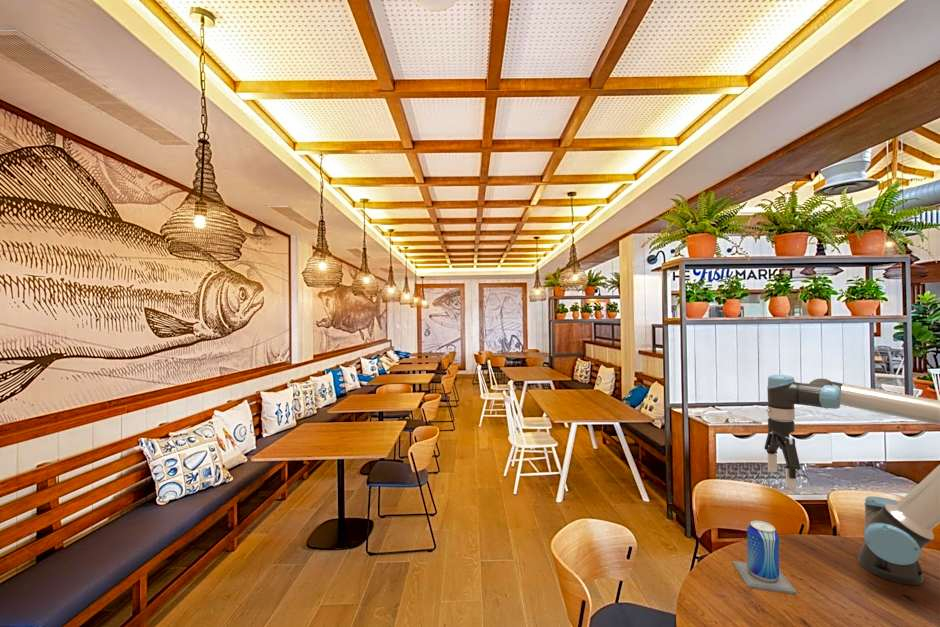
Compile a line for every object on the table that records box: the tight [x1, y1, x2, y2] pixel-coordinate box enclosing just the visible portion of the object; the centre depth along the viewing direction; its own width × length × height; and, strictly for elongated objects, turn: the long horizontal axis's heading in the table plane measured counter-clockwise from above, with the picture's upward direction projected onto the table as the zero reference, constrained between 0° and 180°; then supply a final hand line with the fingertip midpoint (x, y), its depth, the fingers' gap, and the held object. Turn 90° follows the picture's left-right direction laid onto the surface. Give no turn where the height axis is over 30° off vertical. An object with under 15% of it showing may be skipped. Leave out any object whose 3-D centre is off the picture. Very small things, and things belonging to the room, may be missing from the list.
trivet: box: [732, 560, 798, 596], centre depth 133 cm, size 13×13×1 cm
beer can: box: [746, 520, 780, 582], centre depth 133 cm, size 8×8×16 cm
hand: (781, 479), depth 145 cm, fingers open, 13 cm apart
